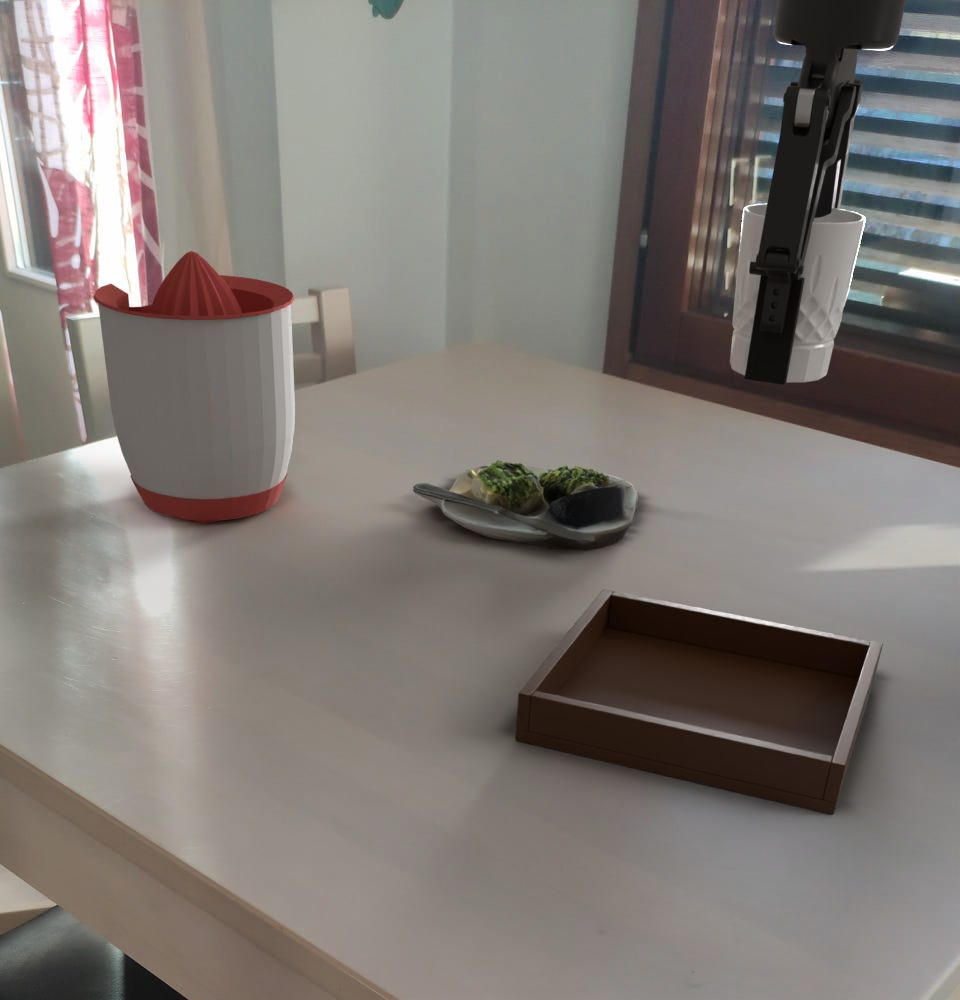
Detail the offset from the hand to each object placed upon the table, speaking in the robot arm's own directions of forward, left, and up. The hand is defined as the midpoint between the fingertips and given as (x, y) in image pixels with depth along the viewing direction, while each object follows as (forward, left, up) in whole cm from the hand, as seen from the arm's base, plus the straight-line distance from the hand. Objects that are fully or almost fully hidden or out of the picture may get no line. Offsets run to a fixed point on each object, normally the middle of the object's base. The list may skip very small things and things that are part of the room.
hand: (777, 366), depth 88 cm
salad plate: (+19, -9, -17) cm, 27 cm away
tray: (-2, +20, -17) cm, 26 cm away
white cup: (0, 0, 0) cm, 0 cm away
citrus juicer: (+47, +1, -17) cm, 50 cm away
